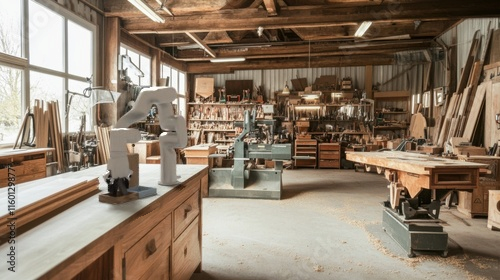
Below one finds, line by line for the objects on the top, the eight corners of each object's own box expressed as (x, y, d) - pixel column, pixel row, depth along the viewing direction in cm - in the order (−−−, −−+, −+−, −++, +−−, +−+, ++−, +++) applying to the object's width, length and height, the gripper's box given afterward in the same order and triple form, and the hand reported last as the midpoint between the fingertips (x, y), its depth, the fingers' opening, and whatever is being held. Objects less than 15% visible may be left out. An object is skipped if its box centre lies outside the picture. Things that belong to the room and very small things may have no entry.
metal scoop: (120, 192, 170) (120, 188, 170) (126, 193, 168) (125, 189, 168) (100, 197, 159) (100, 193, 159) (106, 198, 157) (106, 194, 157)
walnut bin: (119, 195, 161) (119, 190, 161) (138, 198, 156) (137, 192, 156) (98, 201, 150) (98, 194, 150) (117, 204, 145) (117, 197, 144)
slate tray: (139, 191, 173) (139, 185, 173) (156, 193, 167) (156, 187, 167) (120, 195, 162) (120, 189, 162) (138, 198, 156) (138, 192, 156)
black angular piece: (130, 198, 156) (130, 174, 155) (125, 201, 150) (125, 176, 149) (112, 198, 156) (111, 174, 155) (106, 201, 150) (106, 176, 149)
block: (139, 187, 182) (139, 153, 181) (131, 191, 172) (131, 154, 171) (123, 186, 183) (123, 152, 182) (114, 190, 173) (113, 154, 172)
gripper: (127, 152, 161) (127, 186, 162) (97, 155, 146) (97, 192, 147) (137, 153, 158) (138, 187, 159) (108, 156, 142) (109, 194, 143)
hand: (118, 190), depth 153 cm, fingers open, 8 cm apart
